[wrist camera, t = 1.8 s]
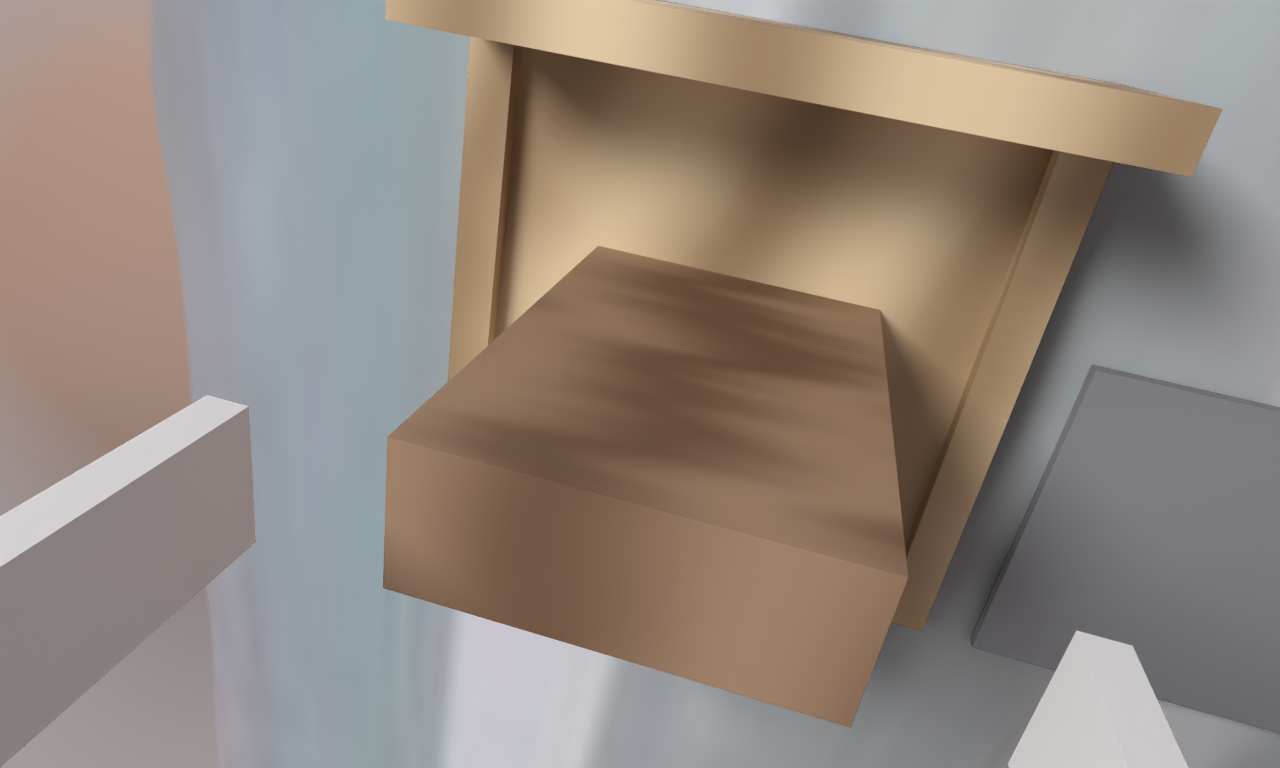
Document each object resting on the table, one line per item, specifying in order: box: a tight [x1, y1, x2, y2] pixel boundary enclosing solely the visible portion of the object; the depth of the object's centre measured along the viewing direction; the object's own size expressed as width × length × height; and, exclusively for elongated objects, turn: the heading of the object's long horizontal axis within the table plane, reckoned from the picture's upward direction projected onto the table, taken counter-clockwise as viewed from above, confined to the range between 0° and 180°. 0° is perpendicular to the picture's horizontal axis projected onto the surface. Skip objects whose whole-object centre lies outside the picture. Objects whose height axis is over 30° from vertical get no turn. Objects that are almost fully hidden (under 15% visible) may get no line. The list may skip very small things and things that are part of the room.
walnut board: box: [383, 246, 908, 727], centre depth 18 cm, size 8×3×12 cm, turn 80°
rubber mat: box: [971, 365, 1280, 733], centre depth 24 cm, size 14×10×1 cm
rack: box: [385, 0, 1222, 631], centre depth 22 cm, size 16×16×6 cm
